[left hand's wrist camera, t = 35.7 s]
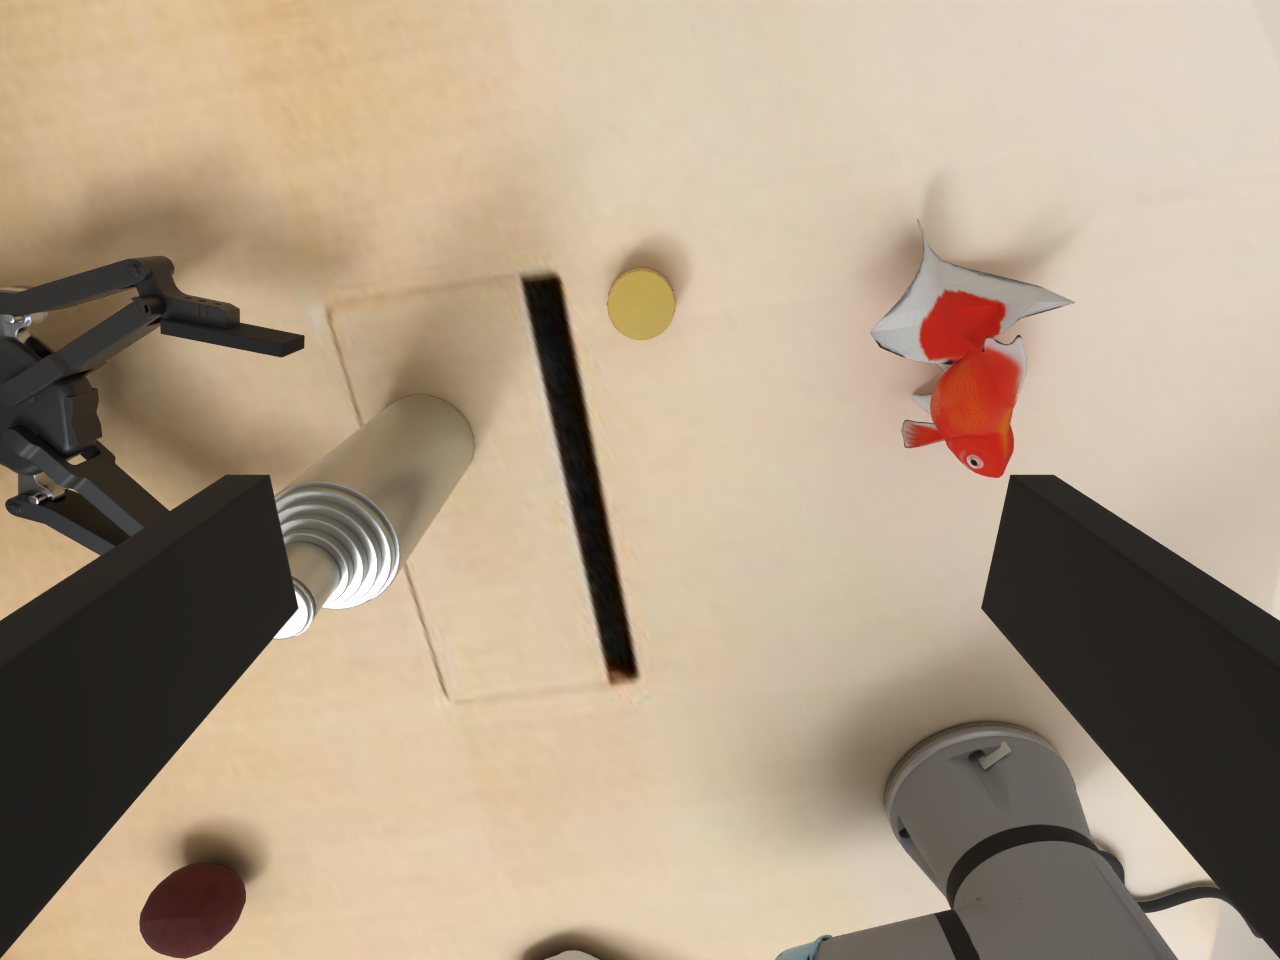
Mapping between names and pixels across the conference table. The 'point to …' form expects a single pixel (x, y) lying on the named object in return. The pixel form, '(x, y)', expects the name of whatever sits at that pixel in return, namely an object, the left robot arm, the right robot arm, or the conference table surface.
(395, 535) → the bottle
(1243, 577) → the conference table surface
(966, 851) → the left robot arm
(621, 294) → the cap
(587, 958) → the projector
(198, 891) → the potato
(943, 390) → the fish
